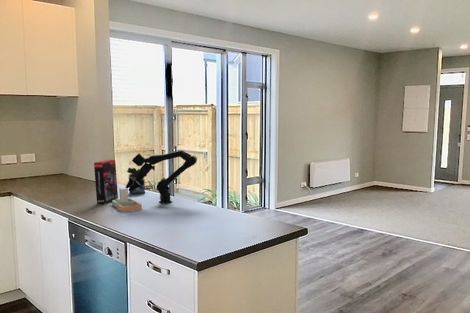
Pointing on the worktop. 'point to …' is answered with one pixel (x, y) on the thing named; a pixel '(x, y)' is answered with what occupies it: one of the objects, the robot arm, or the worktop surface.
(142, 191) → the small box
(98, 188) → the graphics card box
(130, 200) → the frame
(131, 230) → the worktop surface
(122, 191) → the cream rectangular block
